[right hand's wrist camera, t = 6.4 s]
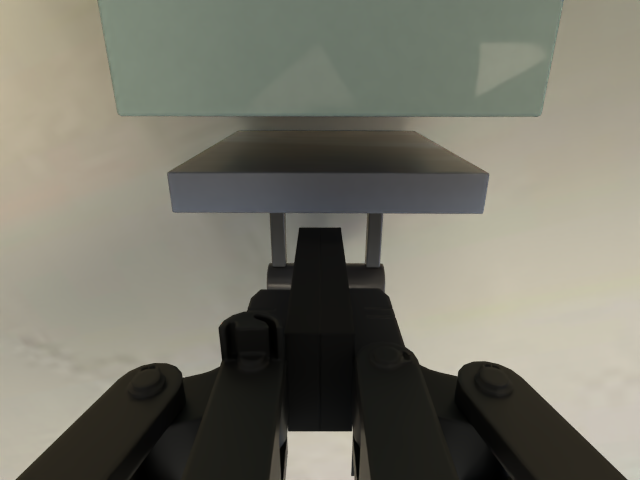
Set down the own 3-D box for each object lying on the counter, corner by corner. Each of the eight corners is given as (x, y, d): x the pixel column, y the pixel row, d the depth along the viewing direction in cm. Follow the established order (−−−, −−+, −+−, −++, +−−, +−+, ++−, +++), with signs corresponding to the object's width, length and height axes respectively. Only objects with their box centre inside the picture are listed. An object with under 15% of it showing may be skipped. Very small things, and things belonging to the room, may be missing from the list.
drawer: (404, 253, 23) (458, 370, 14) (246, 252, 23) (194, 368, 14) (455, -340, 14) (692, -1099, 5) (203, -337, 14) (-13, -1081, 5)
